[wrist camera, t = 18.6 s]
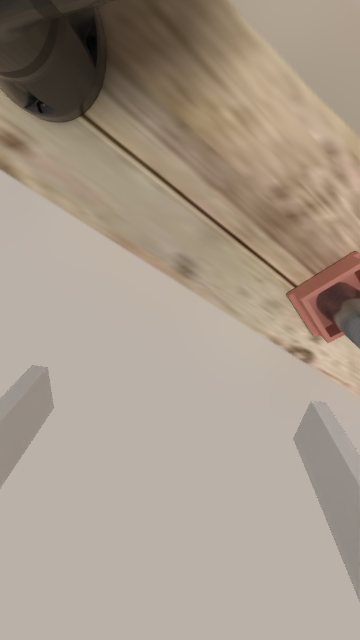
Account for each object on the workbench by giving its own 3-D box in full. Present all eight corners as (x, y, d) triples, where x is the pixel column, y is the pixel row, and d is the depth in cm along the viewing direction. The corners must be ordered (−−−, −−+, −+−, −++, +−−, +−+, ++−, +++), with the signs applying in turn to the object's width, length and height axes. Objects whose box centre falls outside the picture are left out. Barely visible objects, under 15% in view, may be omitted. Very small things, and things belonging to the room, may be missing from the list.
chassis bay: (286, 293, 43) (294, 302, 40) (354, 251, 40) (371, 256, 36) (312, 334, 46) (322, 346, 43) (378, 298, 43) (395, 307, 39)
